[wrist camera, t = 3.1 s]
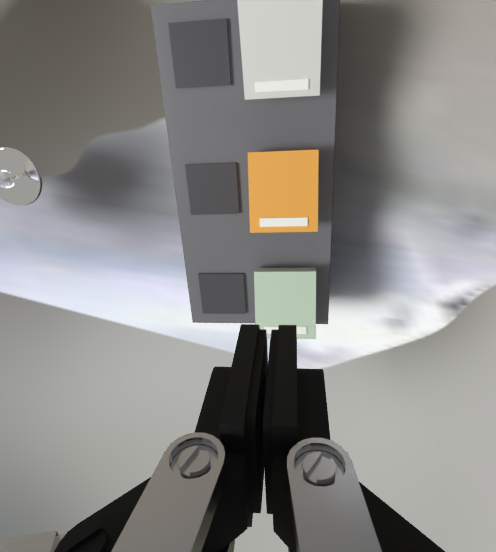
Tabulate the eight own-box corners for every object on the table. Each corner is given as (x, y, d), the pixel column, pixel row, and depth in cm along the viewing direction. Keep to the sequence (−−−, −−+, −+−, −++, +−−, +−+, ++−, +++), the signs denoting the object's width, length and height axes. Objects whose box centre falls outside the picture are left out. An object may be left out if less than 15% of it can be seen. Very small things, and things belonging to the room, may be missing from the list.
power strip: (336, -107, 22) (346, -150, 18) (324, 297, 32) (328, 327, 28) (159, -86, 23) (131, -122, 19) (203, 297, 33) (191, 325, 29)
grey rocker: (321, -13, 19) (323, -12, 18) (318, 90, 22) (319, 95, 21) (239, -6, 20) (236, -4, 19) (246, 94, 22) (244, 100, 21)
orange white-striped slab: (317, 151, 23) (318, 149, 22) (316, 229, 24) (317, 231, 23) (249, 153, 24) (247, 152, 23) (251, 230, 25) (249, 233, 24)
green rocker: (315, 267, 26) (316, 271, 25) (314, 332, 28) (315, 339, 26) (255, 267, 27) (253, 271, 26) (257, 331, 28) (255, 338, 27)
